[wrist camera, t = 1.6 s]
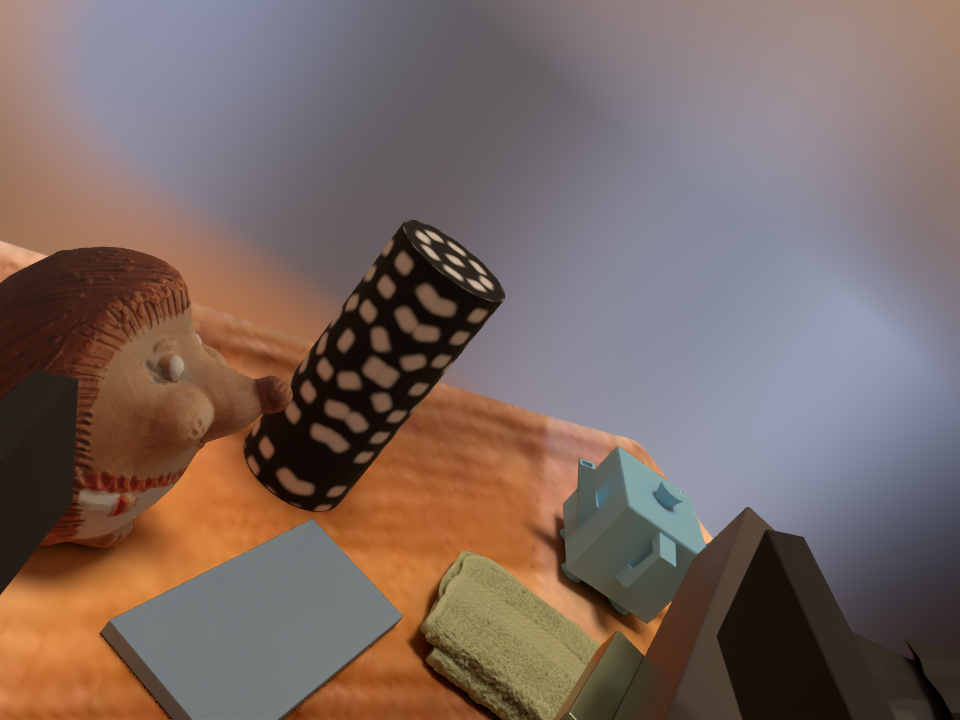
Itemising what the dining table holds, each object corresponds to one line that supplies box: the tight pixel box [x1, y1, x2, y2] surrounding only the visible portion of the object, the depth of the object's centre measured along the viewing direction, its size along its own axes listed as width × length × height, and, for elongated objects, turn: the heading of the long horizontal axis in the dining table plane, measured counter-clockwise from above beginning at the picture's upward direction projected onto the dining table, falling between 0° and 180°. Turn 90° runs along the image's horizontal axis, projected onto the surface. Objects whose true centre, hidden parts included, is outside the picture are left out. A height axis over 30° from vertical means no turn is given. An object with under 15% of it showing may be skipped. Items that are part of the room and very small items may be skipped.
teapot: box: [560, 446, 709, 624], centre depth 80 cm, size 16×18×11 cm
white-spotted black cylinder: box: [244, 220, 505, 511], centre depth 61 cm, size 8×8×20 cm
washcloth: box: [420, 550, 601, 720], centre depth 62 cm, size 13×18×3 cm
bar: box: [614, 507, 775, 720], centre depth 22 cm, size 22×3×3 cm, turn 152°
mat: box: [101, 519, 403, 720], centre depth 51 cm, size 18×9×1 cm, turn 152°
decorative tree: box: [852, 632, 960, 720], centre depth 64 cm, size 15×15×35 cm
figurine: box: [0, 247, 293, 548], centre depth 46 cm, size 14×16×15 cm
